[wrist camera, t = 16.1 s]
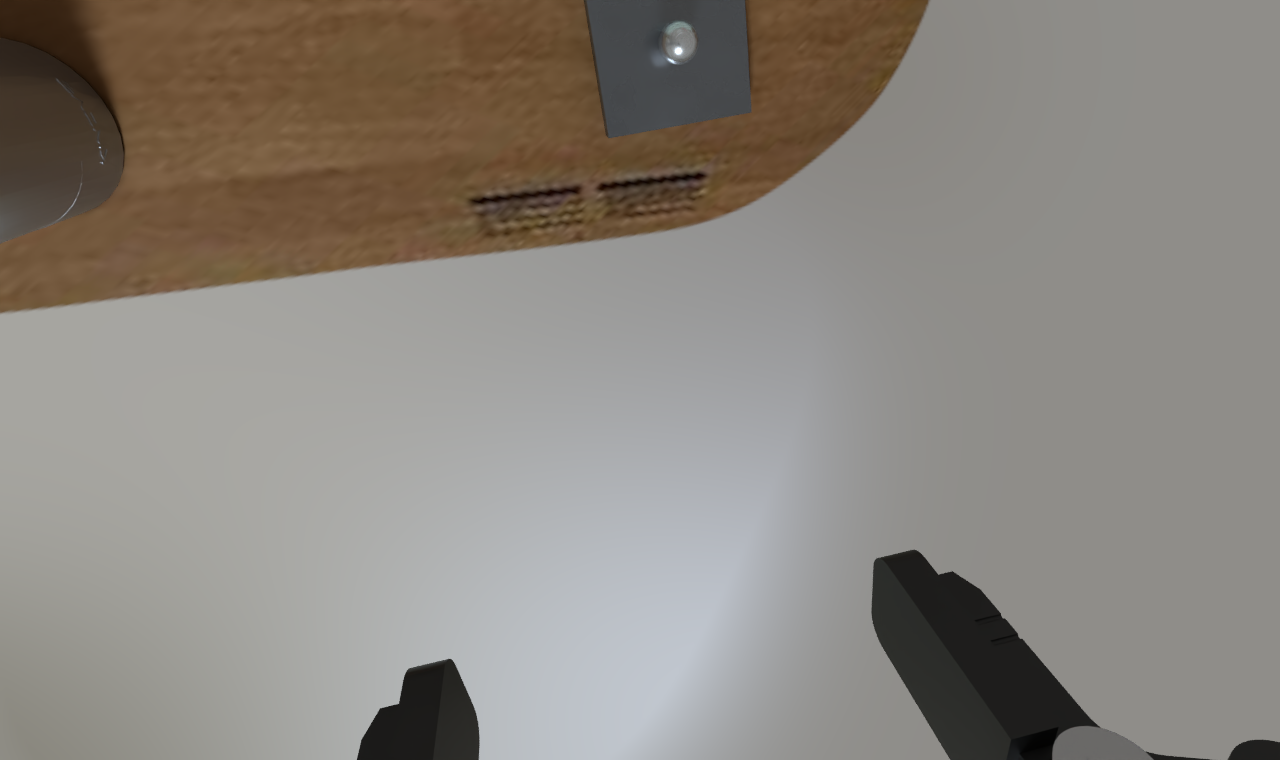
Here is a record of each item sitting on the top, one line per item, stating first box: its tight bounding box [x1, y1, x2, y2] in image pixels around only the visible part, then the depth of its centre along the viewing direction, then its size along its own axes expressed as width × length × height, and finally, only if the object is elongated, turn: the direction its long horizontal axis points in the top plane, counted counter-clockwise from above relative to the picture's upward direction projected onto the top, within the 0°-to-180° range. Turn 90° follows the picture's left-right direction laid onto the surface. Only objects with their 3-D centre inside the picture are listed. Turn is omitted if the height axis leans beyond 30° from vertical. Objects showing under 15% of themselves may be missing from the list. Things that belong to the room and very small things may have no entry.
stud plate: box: [584, 0, 751, 138], centre depth 36 cm, size 9×9×4 cm
